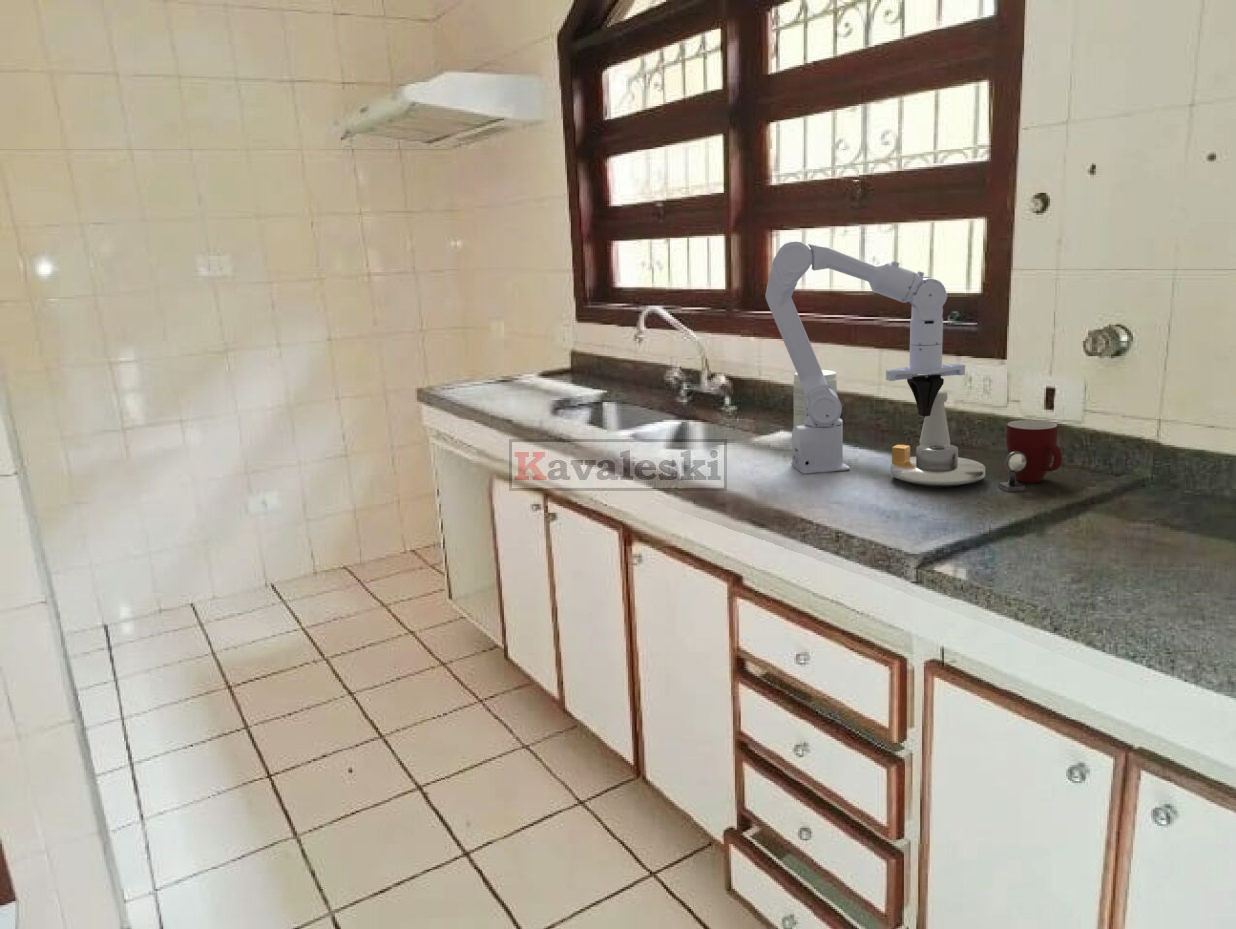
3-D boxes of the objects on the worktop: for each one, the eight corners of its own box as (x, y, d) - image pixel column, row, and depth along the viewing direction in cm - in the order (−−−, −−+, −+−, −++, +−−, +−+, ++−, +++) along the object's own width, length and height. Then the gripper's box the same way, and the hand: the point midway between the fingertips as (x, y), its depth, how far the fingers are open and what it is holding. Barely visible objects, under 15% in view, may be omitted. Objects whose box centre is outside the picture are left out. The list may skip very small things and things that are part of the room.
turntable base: (922, 489, 147) (922, 484, 146) (898, 475, 156) (898, 470, 156) (977, 484, 147) (977, 479, 147) (950, 470, 157) (950, 465, 157)
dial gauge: (1005, 492, 142) (1007, 453, 141) (996, 487, 145) (998, 449, 143) (1026, 490, 142) (1028, 451, 141) (1016, 485, 145) (1018, 447, 144)
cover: (948, 473, 146) (948, 453, 145) (909, 468, 151) (909, 449, 150) (963, 464, 151) (964, 445, 150) (925, 460, 156) (926, 441, 155)
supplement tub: (809, 443, 186) (809, 377, 182) (785, 435, 194) (784, 372, 191) (845, 436, 189) (845, 372, 186) (820, 429, 198) (819, 368, 194)
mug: (1077, 483, 144) (1081, 427, 142) (1045, 492, 141) (1048, 434, 138) (1025, 471, 153) (1028, 417, 151) (993, 478, 150) (996, 424, 148)
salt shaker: (951, 456, 166) (954, 392, 163) (921, 457, 168) (923, 393, 164) (946, 449, 172) (948, 387, 169) (917, 450, 173) (918, 388, 170)
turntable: (965, 490, 141) (966, 465, 140) (875, 477, 151) (875, 455, 150) (998, 468, 152) (999, 445, 151) (912, 458, 163) (913, 437, 161)
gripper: (897, 349, 152) (896, 422, 155) (974, 342, 153) (971, 416, 156) (881, 345, 158) (881, 415, 162) (955, 339, 159) (953, 409, 163)
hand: (924, 415), depth 159 cm, fingers closed
